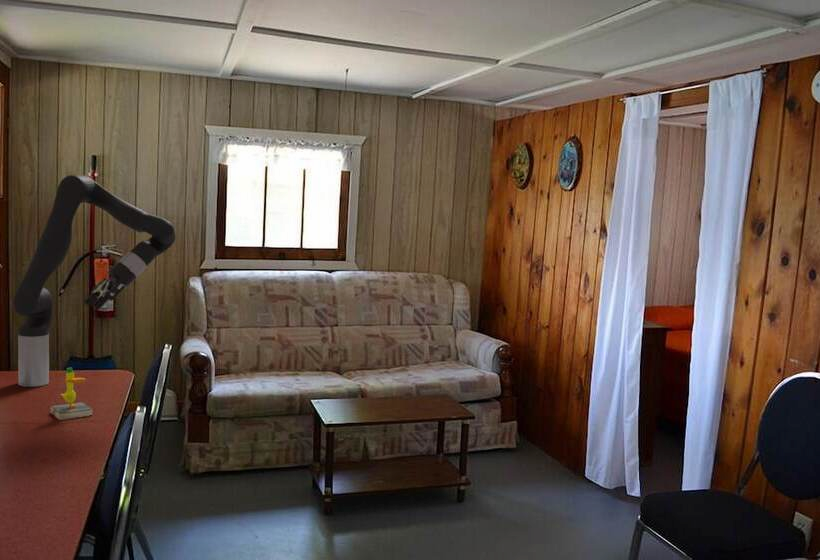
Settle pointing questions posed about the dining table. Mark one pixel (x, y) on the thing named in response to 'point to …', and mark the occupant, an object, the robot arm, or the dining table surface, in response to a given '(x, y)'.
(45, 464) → the dining table surface
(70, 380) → the toy figure
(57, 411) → the stand
